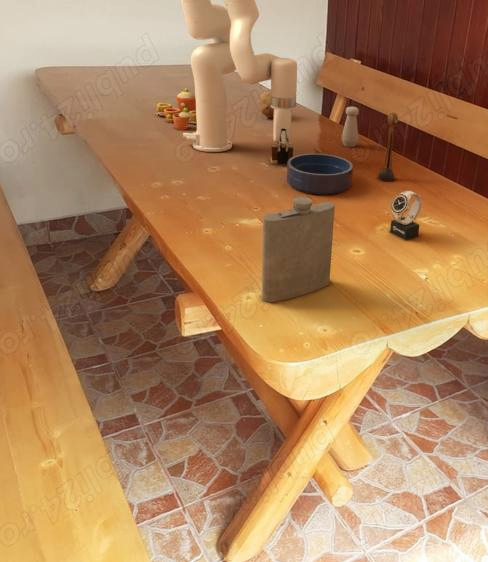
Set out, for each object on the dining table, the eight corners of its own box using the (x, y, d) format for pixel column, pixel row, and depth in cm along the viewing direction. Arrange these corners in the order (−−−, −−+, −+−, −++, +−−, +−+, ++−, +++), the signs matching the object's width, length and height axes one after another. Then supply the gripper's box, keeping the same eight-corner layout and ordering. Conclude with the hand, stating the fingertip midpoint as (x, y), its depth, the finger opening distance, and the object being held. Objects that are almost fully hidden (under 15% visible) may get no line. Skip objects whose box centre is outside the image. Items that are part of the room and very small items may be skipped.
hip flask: (323, 277, 137) (329, 188, 127) (335, 285, 134) (341, 195, 124) (259, 296, 128) (259, 203, 118) (270, 306, 125) (271, 211, 115)
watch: (384, 233, 158) (388, 191, 153) (407, 226, 163) (412, 186, 158) (399, 242, 155) (405, 199, 149) (423, 234, 159) (429, 193, 154)
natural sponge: (284, 115, 248) (285, 89, 243) (280, 121, 240) (281, 95, 236) (261, 113, 249) (262, 87, 244) (256, 119, 241) (257, 92, 236)
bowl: (288, 195, 176) (289, 174, 173) (285, 172, 192) (286, 152, 190) (355, 196, 179) (356, 176, 176) (346, 173, 195) (348, 154, 192)
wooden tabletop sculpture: (398, 182, 192) (406, 115, 182) (384, 183, 190) (391, 116, 180) (389, 175, 196) (396, 110, 187) (375, 176, 194) (382, 110, 185)
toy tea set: (151, 112, 239) (149, 86, 234) (192, 109, 246) (190, 84, 242) (173, 132, 220) (171, 103, 215) (216, 128, 227) (215, 100, 222)
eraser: (270, 164, 198) (271, 147, 195) (270, 160, 201) (270, 143, 198) (293, 165, 199) (294, 147, 196) (292, 160, 202) (293, 143, 199)
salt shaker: (356, 148, 218) (359, 110, 211) (339, 146, 218) (342, 108, 212) (359, 144, 223) (362, 106, 216) (343, 141, 223) (345, 104, 217)
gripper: (270, 94, 198) (269, 151, 206) (271, 108, 183) (270, 169, 192) (294, 95, 199) (292, 152, 208) (297, 109, 184) (295, 170, 193)
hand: (282, 159), depth 199 cm, fingers open, 5 cm apart
